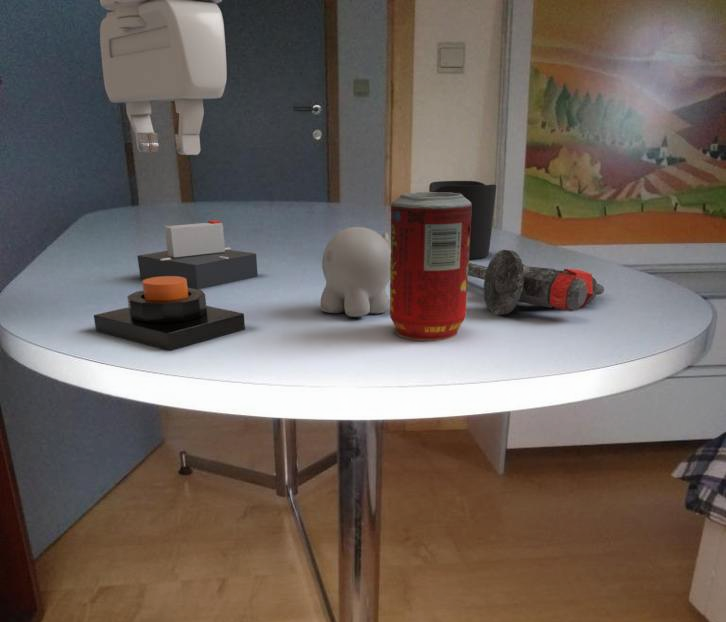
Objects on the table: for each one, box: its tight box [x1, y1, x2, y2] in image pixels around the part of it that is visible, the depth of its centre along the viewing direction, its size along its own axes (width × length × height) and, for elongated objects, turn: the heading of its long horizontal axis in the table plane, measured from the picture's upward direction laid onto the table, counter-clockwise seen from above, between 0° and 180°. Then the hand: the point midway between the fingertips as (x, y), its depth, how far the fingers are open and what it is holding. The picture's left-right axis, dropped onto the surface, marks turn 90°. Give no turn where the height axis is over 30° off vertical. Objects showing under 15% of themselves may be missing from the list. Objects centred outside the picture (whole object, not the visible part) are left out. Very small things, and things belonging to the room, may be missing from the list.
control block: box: [93, 288, 246, 352], centre depth 68 cm, size 11×9×4 cm
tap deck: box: [137, 247, 259, 290], centre depth 91 cm, size 11×11×3 cm
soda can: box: [389, 191, 472, 342], centre depth 65 cm, size 7×7×12 cm
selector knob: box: [164, 219, 226, 258], centre depth 90 cm, size 7×2×4 cm, turn 127°
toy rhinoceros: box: [319, 226, 391, 318], centre depth 75 cm, size 7×12×8 cm, turn 133°
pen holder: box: [428, 180, 497, 261], centre depth 104 cm, size 9×9×10 cm
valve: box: [468, 249, 605, 316], centre depth 81 cm, size 6×26×15 cm
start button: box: [141, 276, 189, 301], centre depth 67 cm, size 4×4×2 cm
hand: (167, 153), depth 72 cm, fingers open, 8 cm apart
